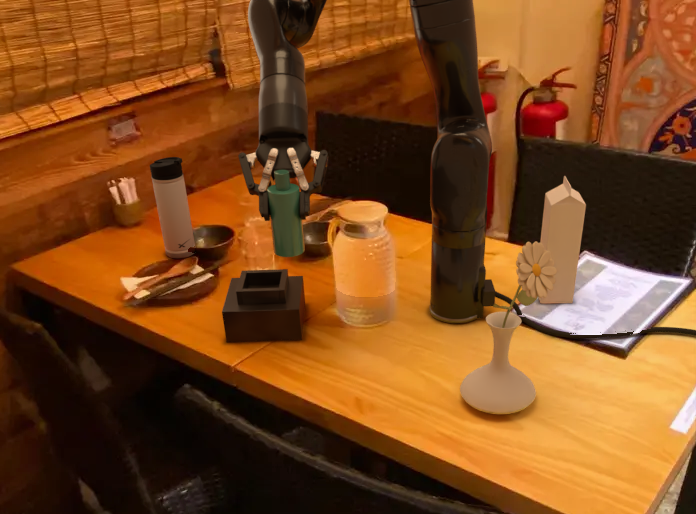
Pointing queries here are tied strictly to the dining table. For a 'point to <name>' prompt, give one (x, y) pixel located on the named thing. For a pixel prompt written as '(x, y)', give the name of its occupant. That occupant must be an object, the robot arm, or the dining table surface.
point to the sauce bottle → (285, 216)
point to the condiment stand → (264, 307)
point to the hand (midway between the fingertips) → (285, 217)
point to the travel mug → (172, 206)
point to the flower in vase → (499, 375)
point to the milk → (563, 239)
